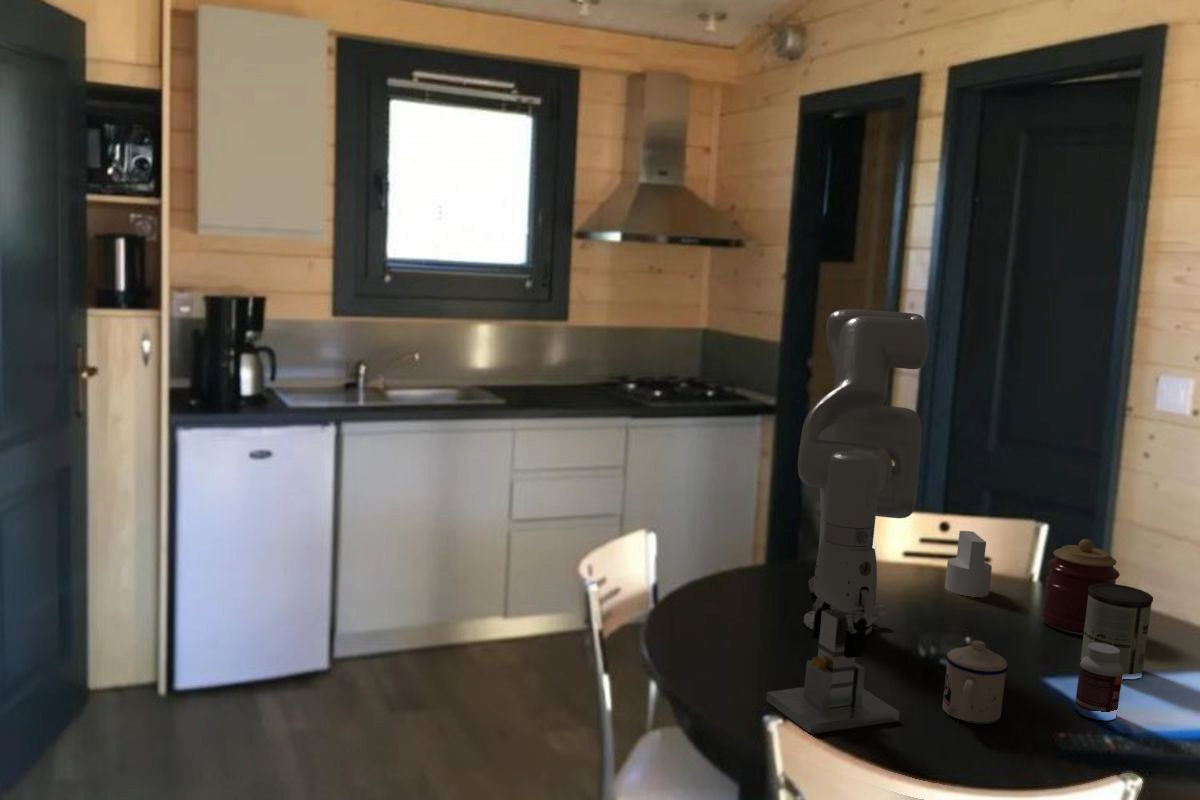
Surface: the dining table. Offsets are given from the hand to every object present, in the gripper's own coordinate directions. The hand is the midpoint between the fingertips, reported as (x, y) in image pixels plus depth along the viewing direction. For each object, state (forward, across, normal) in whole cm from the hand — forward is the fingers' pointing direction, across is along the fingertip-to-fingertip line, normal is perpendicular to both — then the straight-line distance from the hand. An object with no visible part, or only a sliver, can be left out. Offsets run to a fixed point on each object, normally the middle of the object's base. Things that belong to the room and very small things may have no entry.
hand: (837, 646), depth 168 cm
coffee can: (+11, +1, -60) cm, 61 cm away
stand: (+10, 0, 0) cm, 10 cm away
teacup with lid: (+11, -8, -20) cm, 24 cm away
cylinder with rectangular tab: (+11, +44, -66) cm, 80 cm away
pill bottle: (+11, -13, -41) cm, 44 cm away
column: (+9, 0, 0) cm, 9 cm away
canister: (+11, +20, -72) cm, 75 cm away
